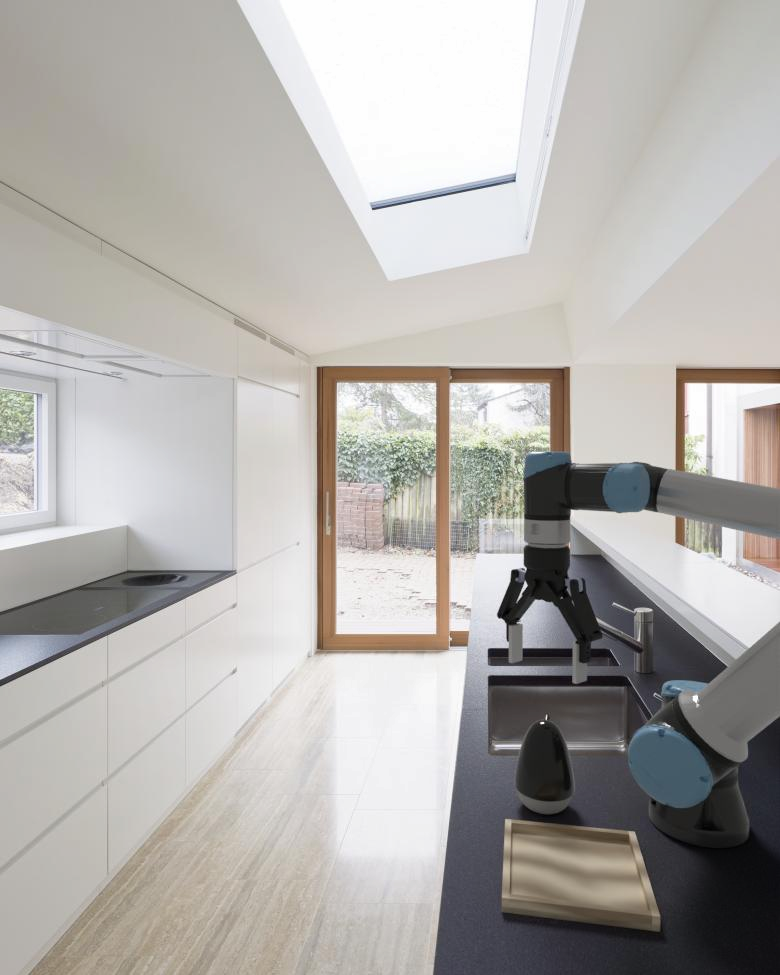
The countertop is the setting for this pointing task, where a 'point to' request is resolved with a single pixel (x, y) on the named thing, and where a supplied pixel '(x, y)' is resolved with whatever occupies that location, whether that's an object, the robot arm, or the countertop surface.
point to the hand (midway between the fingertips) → (546, 671)
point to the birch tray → (577, 875)
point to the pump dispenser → (544, 769)
